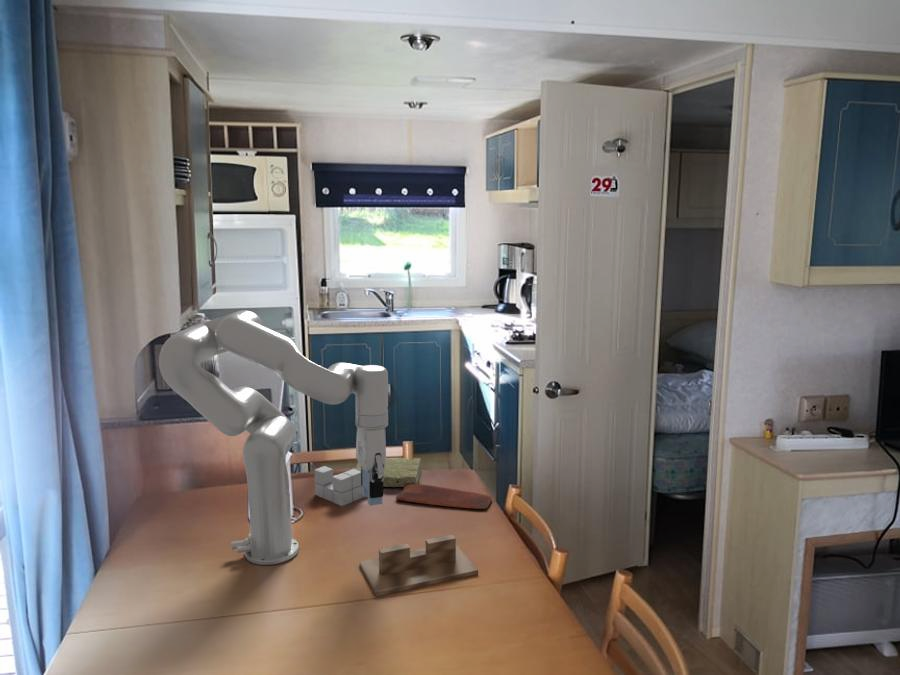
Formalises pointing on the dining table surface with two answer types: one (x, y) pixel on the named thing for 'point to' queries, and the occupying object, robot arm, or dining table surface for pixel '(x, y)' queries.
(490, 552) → the dining table surface
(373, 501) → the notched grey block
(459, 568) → the walnut stand
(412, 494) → the wooden tablet
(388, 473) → the olive green flat block
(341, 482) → the puzzle cube
